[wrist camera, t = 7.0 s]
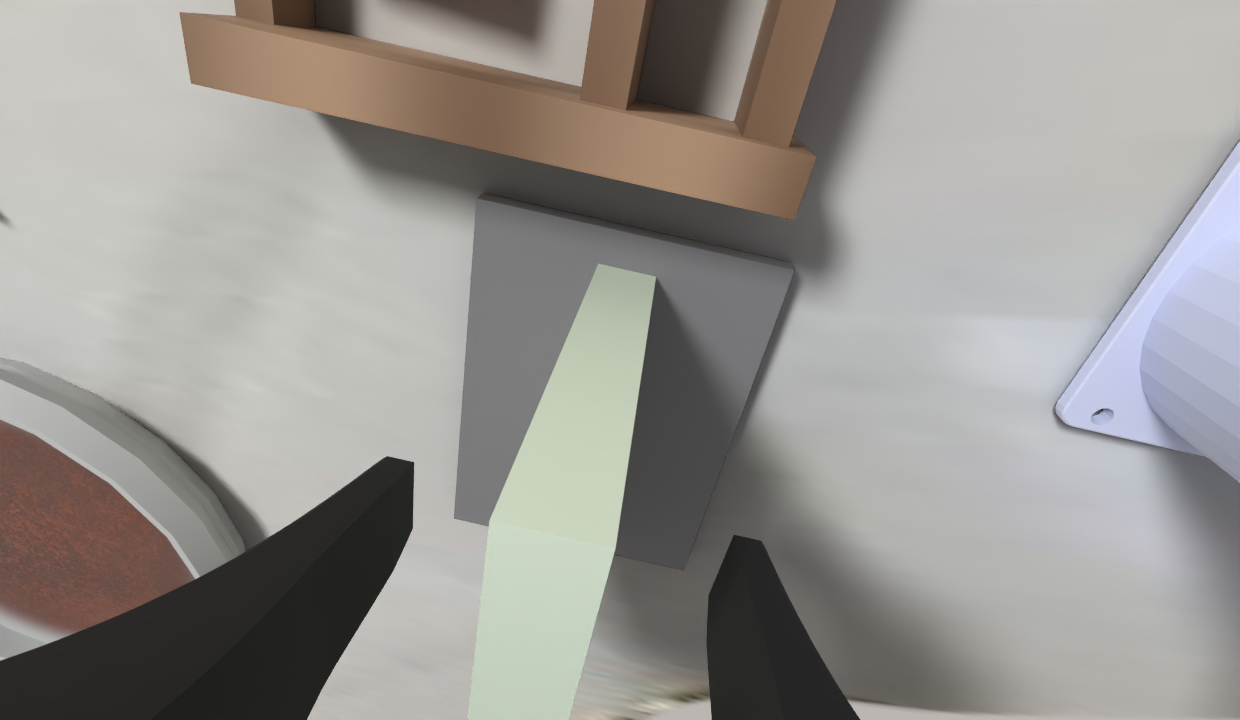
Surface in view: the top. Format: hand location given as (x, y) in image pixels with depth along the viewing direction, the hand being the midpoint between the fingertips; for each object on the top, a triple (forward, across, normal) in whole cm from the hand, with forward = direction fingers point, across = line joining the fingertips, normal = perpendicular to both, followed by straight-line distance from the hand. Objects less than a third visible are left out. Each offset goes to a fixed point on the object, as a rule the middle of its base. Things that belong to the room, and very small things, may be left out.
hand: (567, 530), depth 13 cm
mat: (+5, 0, 0) cm, 5 cm away
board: (+5, 0, 0) cm, 5 cm away
